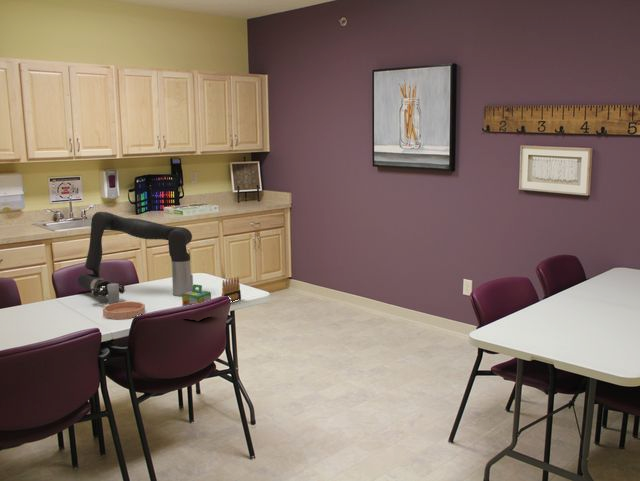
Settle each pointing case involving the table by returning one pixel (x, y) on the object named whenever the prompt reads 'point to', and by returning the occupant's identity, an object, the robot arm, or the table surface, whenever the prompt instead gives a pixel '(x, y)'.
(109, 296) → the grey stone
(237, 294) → the ammunition clip
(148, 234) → the robot arm
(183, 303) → the chalk box
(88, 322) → the table surface
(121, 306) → the terracotta bowl
